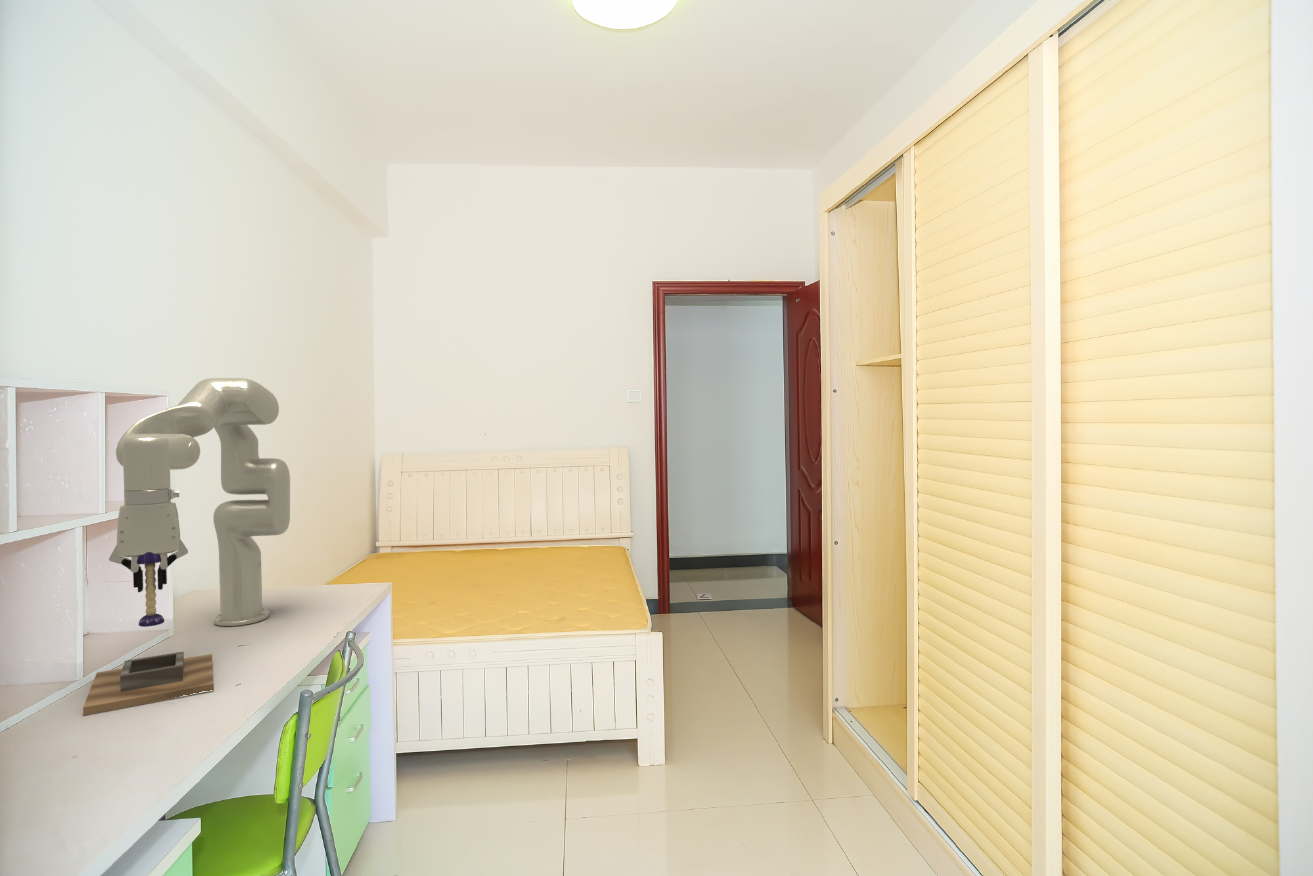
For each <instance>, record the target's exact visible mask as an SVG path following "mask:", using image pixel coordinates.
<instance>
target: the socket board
mask: <svg viewBox="0 0 1313 876" xmlns="http://www.w3.org/2000/svg"><path fill="white" fill-rule="evenodd" d="M184 653H185V652H184V651H178V652H173V653H172V652H170V653H167V654H160V655H153V656H147V657H141V658H140V657H139V658H134V659H128V660H124V663H123V665H122V668H117V669H109V670H104V671H99V672H98V671H97V672H96V673H95V676H94V679H93V681H92V684H91V686H90V689H89V692H88V695H87V697H86V699H85V701H84V704H83V707H82V711H83V712H82V713H83V716H84V717H85V716H91V715H94V714H99V713H104V712H105V713H106V712H111V711H116V710H120V709H121V710H122V709H126V708H132V707H135V706H137V705H138V706H143V705H147V704H153V703H159V702H163V701H168V700H167V699H170V700H173V699H172V698H175V697H180V696H183V695H190V694H193V693H199V692H202V691H210V690H213V691H214V673H213V672H214V670H213V666H214V665H213V653H209V654H202V655H197V656H191V657H184V655H185V654H184ZM180 698H181V697H180ZM175 699H176V698H175Z"/></svg>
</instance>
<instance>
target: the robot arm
mask: <svg viewBox="0 0 1313 876" xmlns="http://www.w3.org/2000/svg"><path fill="white" fill-rule="evenodd" d="M279 412H280V406H279V402H278V399H277V397H276V396H275V395H274V394H273V392H271V391H270V390H269V389H267V388H266V387H265V386H263V385H262V384H261V383H259V382H257V381H255V380H252V379H248V378H239V377H238V378H230V377H229V378H228V377H227V378H225V377H224V378H223V377H221V378H220V377H218V378H217V377H216V378H215V377H214V378H213V377H212V378H205V379H202V380H200V381H199V382H197V383H196V384H195V385H194V386H193V387H192V389H190V391H189V392H188V393H187V394H186V395H185V396H184V397H183V399H182V400H181V401H180V402H179V403H178V404H177V405H174V406H171V407H169V408H165V409H164V410H163V409H162V410H161V411H160V410H159V411H158V412H156V413H152V414H150V415H147V416H146V417H143V418H141V419H139V420H137V421H136V422H134V423H133V424H132V425H131V426H130V427H129V428H128V429H127V430H126V431H125V432H124V433H123V434H122V436H121V437H120V439H119V440H118V442H117V444H116V447H115V448H116V449H115V455H116V460H117V462H118V463H119V465H120V466H122V467H123V499H124V501H123V502H124V505H120V507H119V510H118V518H117V527H116V528H117V529H116V531H117V532H116V545H115V547H114V549H113V551H112V552H111V554H110V556H109V558H108V561H109V562H112V563H115V564H118V565H122V566H124V568H126V569H128V570H129V571H130V572H131V573H132V579H133V583H132V584H133V585H132V586H133V588H137V593H141V592H143V590H144V570H143V569H142V566H140V565H141V564H137V559H138V556H141V555H144V554H145V553H147V552H152V553H154V554H160V557H161V562H159V565H158V568H157V590H160V591H161V590H163V588H164V585H167V584H168V577H167V576H168V575H167V574H168V573H167V569H168V568H169V567H170V566H171V565H172V563H174V562H175V561H176V560H178V559H180V558H182V557H185V556H186V555H187V554H188V553H189V550H188V548H187V546H186V545H185V543H184V542H183V541H182V539H181V530H180V529H181V528H180V518H179V512H178V508H177V507H178V506H177V505H176V502H172V500H173V499H175V498H180V490H175V489H174V490H173V489H171V488H172V487H171V470H172V471H173V470H176V471H177V470H185V469H188V468H191V467H192V466H194V465H195V464H196V463H197V462H198V460H199V458H200V455H201V448H200V444H199V442H198V441H197V439H196V438H197V437H200V436H204V435H206V434H208V433H209V432H211V431H212V430H213V429H214V430H215V432H216V434H217V436H218V437H219V441H220V482H221V484H220V485H221V488H222V490H223V491H224V492H225V493H227V494H228V495H238V496H239V495H240V496H242V495H243V496H244V495H245V496H247V495H251V496H252V495H266V496H267V499H234V500H232V499H231V500H228V501H224V502H221V503H220V504H219V505H218V506H216V508H215V509H214V512H213V526H214V530H215V533H216V538H217V545H218V568H219V569H218V570H219V573H218V574H219V575H218V576H219V602H220V603H219V604H220V607H219V609H220V610H219V611H220V614H218V615H216V616H215V617H214V618H213V623H214V625H216V626H221V627H236V626H237V627H238V626H244V625H251V624H254V623H258V622H261V621H263V620H266V619H267V618H269V616H270V611H269V610H268V609H266V608H263V580H262V577H263V576H262V552H261V549H260V546H259V545H258V543H257V542H256V541H255V540H254V539H253V537H262V536H263V537H265V536H267V537H269V536H279V535H282V534H284V533H285V532H287V530H288V529H289V526H290V520H291V475H290V469H289V466H288V464H287V463H286V462H285V461H284V460H282V459H279V458H275V457H274V458H273V457H272V458H269V457H268V458H267V457H265V458H260V456H259V439H258V437H257V435H256V434H255V432H254V430H252V428H250V426H253V425H254V426H255V425H256V426H257V425H258V426H259V425H260V426H262V425H263V426H264V425H271V424H273V423H274V422H275V421H276V420H277V419H278V416H279ZM249 425H250V426H249ZM168 554H169V555H168ZM129 558H131V559H129Z"/></svg>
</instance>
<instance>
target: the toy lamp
mask: <svg viewBox="0 0 1313 876" xmlns="http://www.w3.org/2000/svg"><path fill="white" fill-rule="evenodd" d="M160 562H161V557H160V554H154V553H152V552H147V553H145V554H144V555H141V556H138V559H137V564H140V565H144V569H145V571H144V576H145V577H146V578H145V580H144V583H145V589H144V590H145V595H144V597H145V600H146V601H145V607H146V609H145V615H144V616H141V618H140V619H139V621H138V626H139V627H142V628H143V627H144V628H145V627H155V626H158V625H162V624H163V623H165V618H164V616H163V615H162V614H159V613H157V607H156V605H157V600H156V598H157V592H156V590H157V585H156V581H157V578H156V570H155V568H156V564H159V563H160Z"/></svg>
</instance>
